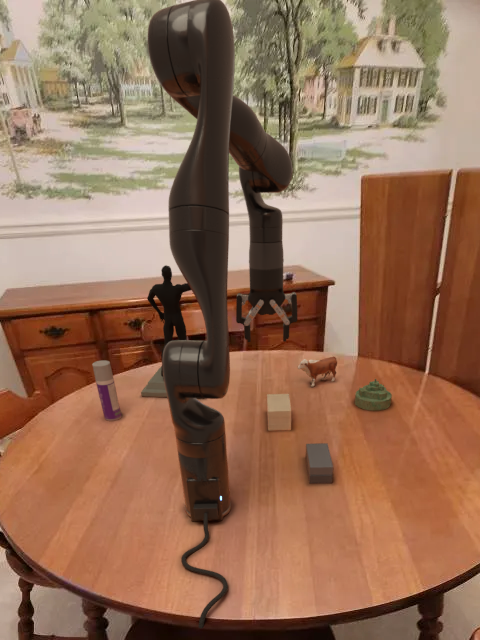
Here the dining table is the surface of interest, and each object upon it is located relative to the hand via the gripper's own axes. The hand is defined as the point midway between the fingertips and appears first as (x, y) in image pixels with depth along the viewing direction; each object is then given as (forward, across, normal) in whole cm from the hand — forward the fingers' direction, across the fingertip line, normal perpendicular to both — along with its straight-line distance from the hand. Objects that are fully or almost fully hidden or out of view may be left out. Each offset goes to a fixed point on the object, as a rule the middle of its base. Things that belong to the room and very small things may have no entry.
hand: (267, 341), depth 118 cm
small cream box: (+21, +3, +1) cm, 21 cm away
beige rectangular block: (+18, +3, +1) cm, 18 cm away
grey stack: (+22, +11, -25) cm, 35 cm away
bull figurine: (+21, +16, +27) cm, 38 cm away
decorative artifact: (+21, +30, +12) cm, 38 cm away
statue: (+21, -26, +28) cm, 44 cm away
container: (+21, -43, +6) cm, 48 cm away
